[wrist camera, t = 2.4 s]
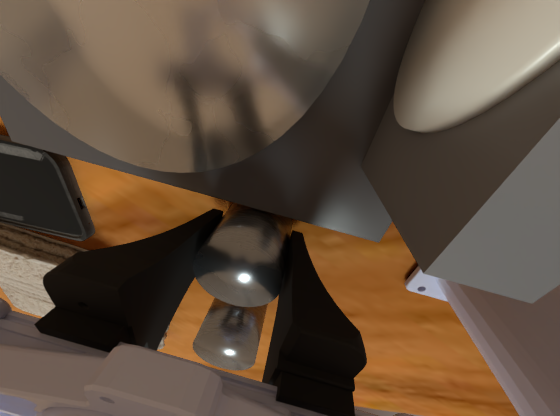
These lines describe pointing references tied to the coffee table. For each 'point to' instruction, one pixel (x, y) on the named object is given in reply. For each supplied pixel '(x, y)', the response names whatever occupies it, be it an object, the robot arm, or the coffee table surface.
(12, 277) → the washcloth
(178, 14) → the pan
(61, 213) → the phone
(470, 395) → the coffee table surface
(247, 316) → the cylinder
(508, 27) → the scale
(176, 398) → the robot arm
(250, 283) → the cylinder
